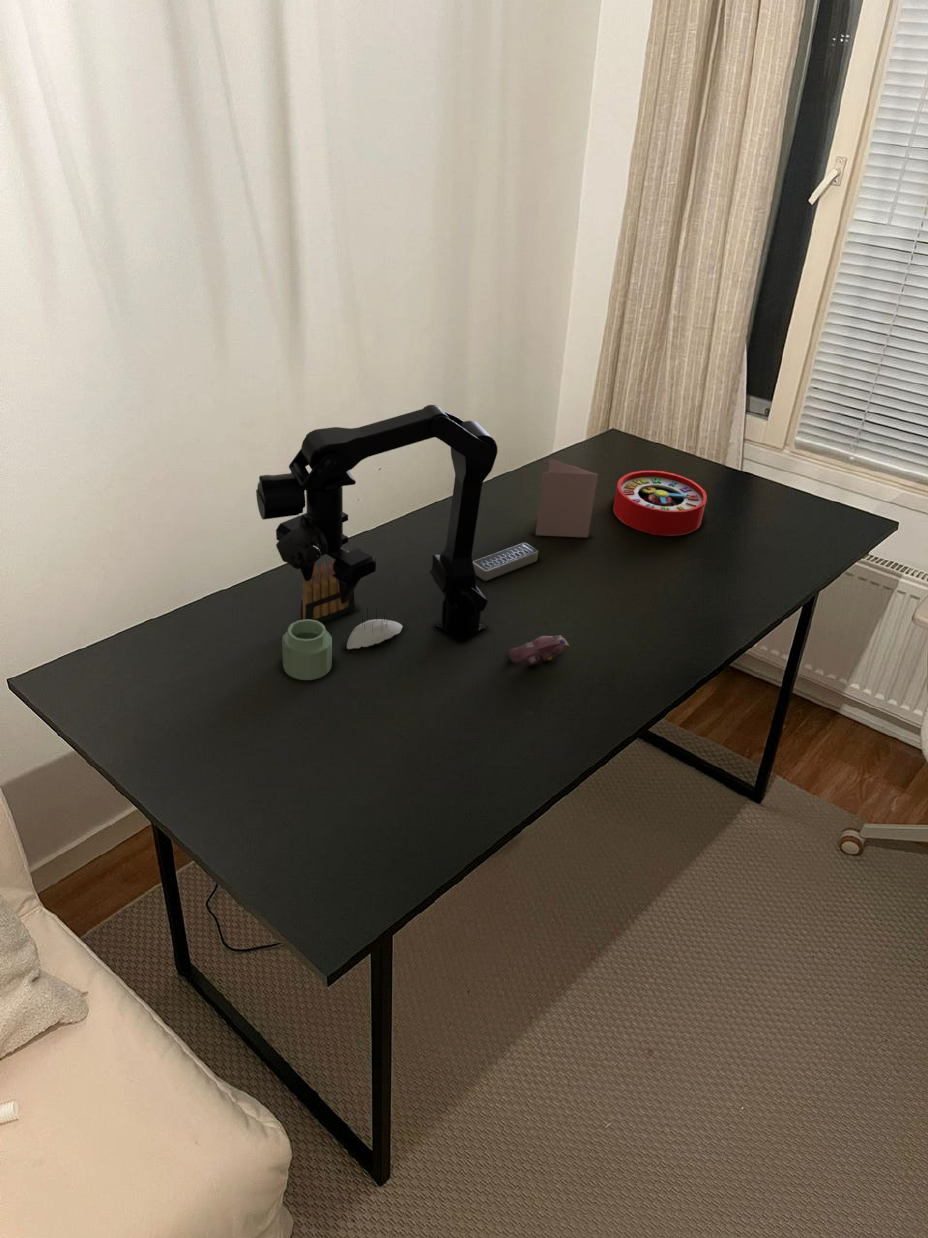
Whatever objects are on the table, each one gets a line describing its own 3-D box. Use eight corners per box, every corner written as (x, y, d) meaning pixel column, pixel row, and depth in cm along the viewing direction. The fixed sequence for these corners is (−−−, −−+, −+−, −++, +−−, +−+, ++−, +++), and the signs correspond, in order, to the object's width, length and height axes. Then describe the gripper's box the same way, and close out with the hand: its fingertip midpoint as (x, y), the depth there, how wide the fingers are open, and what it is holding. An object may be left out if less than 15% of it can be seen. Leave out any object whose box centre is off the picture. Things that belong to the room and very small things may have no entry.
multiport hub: (470, 571, 201) (471, 561, 199) (523, 551, 209) (524, 541, 208) (484, 581, 198) (485, 571, 197) (538, 560, 206) (539, 550, 205)
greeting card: (589, 535, 216) (599, 473, 208) (573, 549, 211) (583, 485, 203) (543, 519, 221) (551, 457, 213) (527, 532, 216) (534, 469, 207)
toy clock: (612, 467, 232) (698, 473, 232) (608, 490, 235) (693, 496, 236) (622, 508, 215) (714, 515, 216) (618, 532, 219) (708, 538, 219)
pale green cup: (341, 666, 172) (341, 631, 168) (304, 686, 167) (303, 650, 163) (310, 645, 176) (309, 610, 172) (273, 664, 171) (271, 628, 167)
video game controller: (515, 676, 176) (527, 657, 170) (504, 654, 178) (517, 635, 172) (562, 663, 180) (576, 645, 174) (552, 642, 182) (565, 623, 176)
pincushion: (391, 620, 185) (392, 594, 181) (411, 635, 181) (413, 610, 178) (337, 641, 178) (337, 615, 175) (357, 658, 174) (357, 632, 171)
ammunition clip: (305, 628, 181) (304, 572, 174) (300, 623, 182) (299, 567, 175) (355, 610, 186) (355, 555, 180) (349, 605, 188) (350, 550, 181)
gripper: (247, 503, 159) (252, 586, 168) (324, 549, 149) (325, 634, 158) (301, 482, 166) (304, 563, 175) (379, 525, 156) (377, 607, 165)
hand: (325, 591), depth 168 cm, fingers open, 9 cm apart
